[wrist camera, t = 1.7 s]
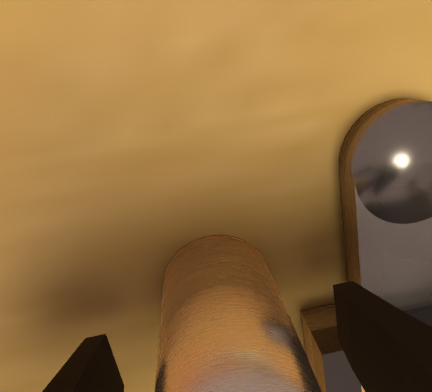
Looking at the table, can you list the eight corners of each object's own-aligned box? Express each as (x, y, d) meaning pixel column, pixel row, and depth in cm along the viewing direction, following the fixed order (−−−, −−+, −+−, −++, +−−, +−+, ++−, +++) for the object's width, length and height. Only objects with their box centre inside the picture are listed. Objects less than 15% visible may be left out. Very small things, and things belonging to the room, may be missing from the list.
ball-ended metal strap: (476, 516, 20) (514, 573, 18) (332, 549, 20) (351, 611, 18) (509, 76, 12) (582, 77, 10) (275, 123, 12) (296, 136, 10)
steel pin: (205, 344, 15) (237, 708, 6) (141, 276, 14) (76, 614, 5) (288, 290, 14) (441, 605, 6) (229, 214, 13) (317, 476, 5)
